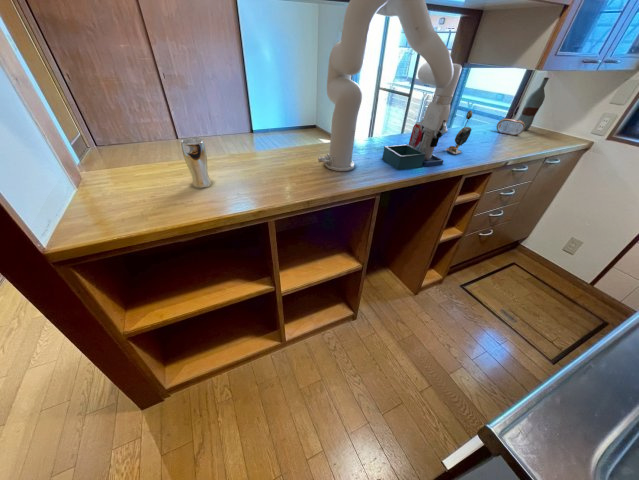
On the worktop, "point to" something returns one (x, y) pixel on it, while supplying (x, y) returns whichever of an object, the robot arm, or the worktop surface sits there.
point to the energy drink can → (427, 143)
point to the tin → (510, 126)
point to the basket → (403, 156)
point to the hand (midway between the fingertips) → (428, 143)
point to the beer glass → (196, 161)
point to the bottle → (533, 105)
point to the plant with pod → (461, 136)
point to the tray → (432, 161)
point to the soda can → (416, 136)
